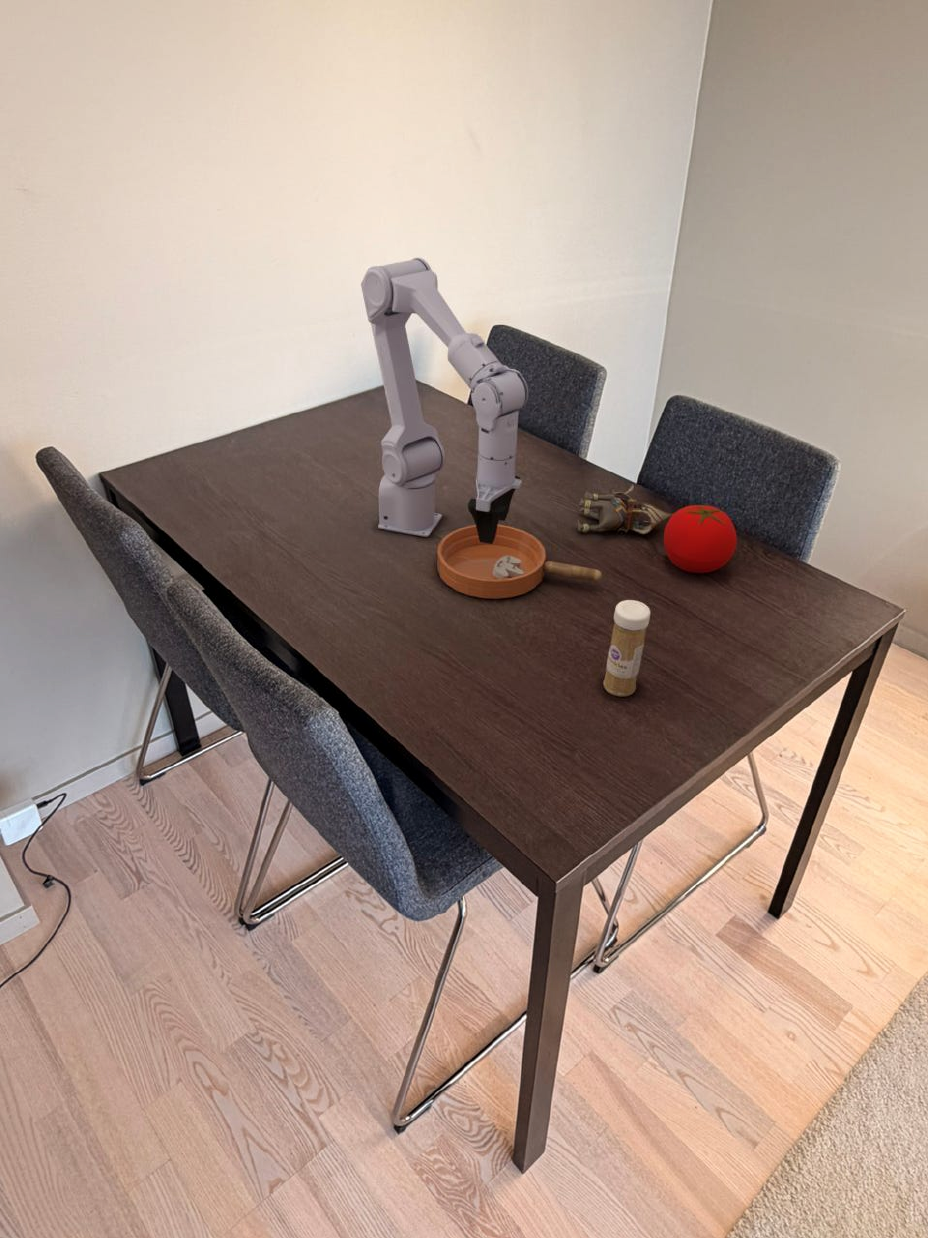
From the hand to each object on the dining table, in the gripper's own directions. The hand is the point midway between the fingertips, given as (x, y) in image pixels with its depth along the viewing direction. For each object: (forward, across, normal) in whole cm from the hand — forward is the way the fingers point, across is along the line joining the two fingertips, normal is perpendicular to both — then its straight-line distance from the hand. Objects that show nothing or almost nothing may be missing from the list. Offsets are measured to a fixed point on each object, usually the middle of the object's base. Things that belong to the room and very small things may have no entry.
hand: (492, 530), depth 140 cm
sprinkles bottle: (+8, -23, -25) cm, 35 cm away
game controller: (+7, 0, 0) cm, 7 cm away
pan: (+8, 0, 0) cm, 8 cm away
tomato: (+8, +13, -32) cm, 35 cm away
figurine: (+8, +22, -19) cm, 30 cm away
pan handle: (+6, 0, -13) cm, 15 cm away
